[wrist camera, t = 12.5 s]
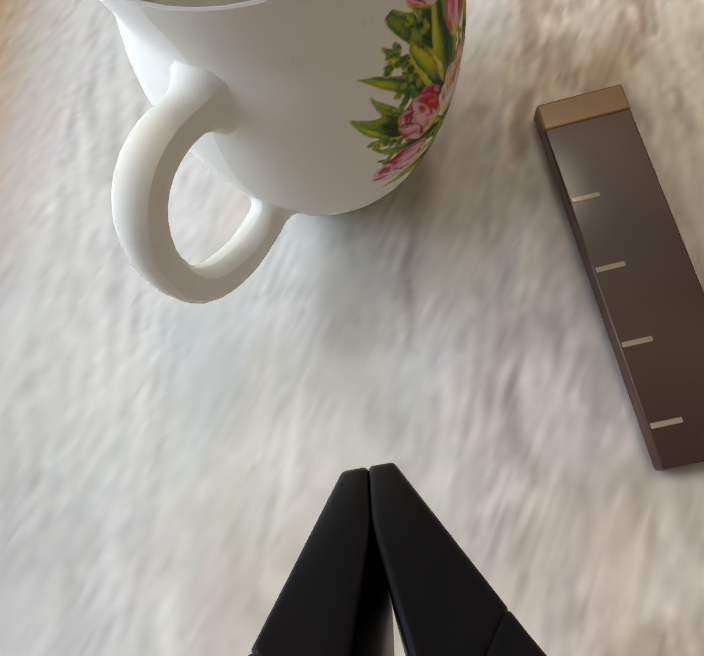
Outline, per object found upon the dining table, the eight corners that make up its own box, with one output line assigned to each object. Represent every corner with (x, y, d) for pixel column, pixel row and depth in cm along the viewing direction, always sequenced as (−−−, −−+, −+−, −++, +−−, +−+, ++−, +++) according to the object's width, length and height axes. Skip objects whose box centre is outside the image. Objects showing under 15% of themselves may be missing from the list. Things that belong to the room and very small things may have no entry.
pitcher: (131, 303, 25) (-196, 110, 12) (296, -24, 29) (176, -449, 16) (362, 394, 23) (261, 273, 10) (512, 25, 26) (586, -432, 13)
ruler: (755, 449, 21) (769, 447, 20) (654, 470, 21) (663, 470, 20) (615, 97, 25) (621, 82, 24) (533, 118, 25) (536, 105, 24)
